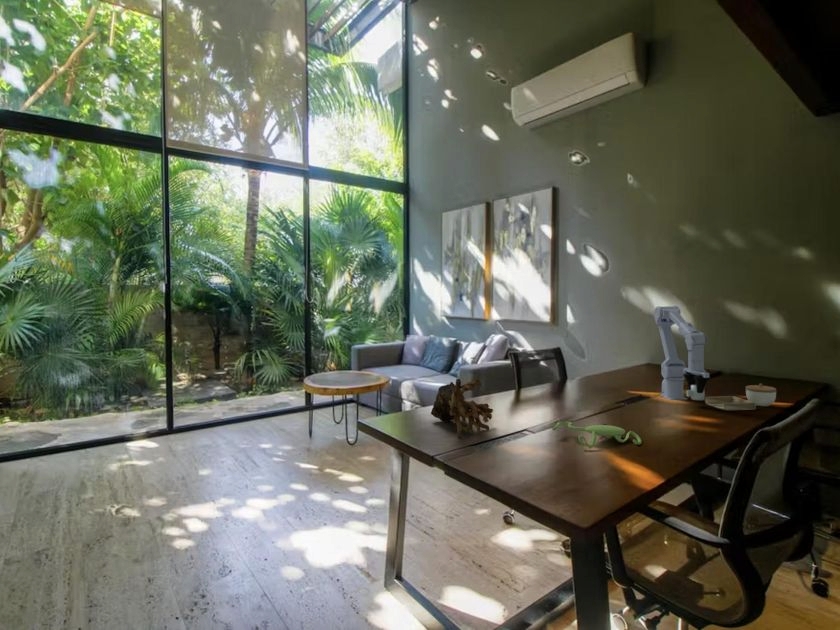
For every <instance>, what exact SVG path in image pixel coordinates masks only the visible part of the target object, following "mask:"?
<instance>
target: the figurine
mask: <svg viewBox="0 0 840 630" xmlns="http://www.w3.org/2000/svg"><path fill="white" fill-rule="evenodd" d="M560 426H567V428H568V429H569V430H573V431H579V432H586V433H589V434H591V436H592V437H591V438H592V440H591V443H590V444H589V443H588V441H587V440H586V437H585V436H584V435H583V434H580V435H577V438H578V441H579V442H580V444H581V447H582V448H583V451H585V448H584V445H583V442H582V439H583V441H584V442H585V446H586V447H588V449H593V448H594V447H595V446H596V441H597V439H598V440H600V441H602V440H603V439H604V438H605V437H609V439H610V440H611V439H612V438H613V437H614V439H615V440H616V441H618V442H620V443H625V442H626V441H627V440H628V439H629V437H630V435H632V436H633V437H634V438H635V439H634V438H633V439H632V443H634V444H635V445H639V446H640V445H641V444H642V442H643V441H642V439H641V437H640V436H639V435H638V434H637V433H635V432H634V431H631V430H629V432H627V433H626V430H625V429H624V428H622V427H618V426H616V425H615V426H614V425H608V424H607V423H603V424H598V425H597V424H594V425H589V426H586V427H583V426H582V427H581V426H574V424H573V422H571V421H558V422H557V423H556V424H555V425H554V426H553V427H551V428H552V431H556V430H558V428H559V427H560ZM625 434H626V436H625V437H624V439H622V435H625ZM597 436H599V437H598V438H597Z"/></svg>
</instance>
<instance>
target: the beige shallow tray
mask: <svg viewBox="0 0 840 630" xmlns="http://www.w3.org/2000/svg"><path fill="white" fill-rule="evenodd" d="M704 404H706V405H709V406H711V407H713V408H714V407H715V408H716V409H720V410H724V411H748V410H749V411H752V410H754V411H755V410H757V405H756V403H754V402H751V401H749V400H748V399H744V398H741V397H737V396H734V395H726V396H725V395H724V396H723V395H721V396H720V395H719V396H705V400H704Z"/></svg>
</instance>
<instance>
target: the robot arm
mask: <svg viewBox="0 0 840 630" xmlns="http://www.w3.org/2000/svg"><path fill="white" fill-rule="evenodd" d="M653 318H654V321H655V325H657V326H658V330H659V334H660V335H659V336H660V340H661V344H662V348H663V354H664V357H665V360H664V361H663V362H662V363H661V364H660V366H661V367H660V368H661V369H660V373H661V376H662V377H663V380H662V382H661V394H659V397H662V398H664V399H668V400H670V401H678V400H679V401H680V400H681V401H682V400H685V401H686V400H688V398H687V397H685V396H684V381H686V383H687V387H688V390H691V384H696V387H697V393H703V391H704V392H705V387H706V385H707V383H708V382H709V380H710V373H709V372H708V371H707V370H705V365H704V363H705V361H704V359H705V358H704V357H705V355H704V354H705V352H704V351H705V350H704V349H705V348H704V347H705V346H706V345H707V343H708V336H707V335H706V333H705V332H701V331H698V330H697V328H696V327H694V325H693V324H692V322H688V321H687V322H686V320H685V318H684V317H683V316H682V315H681V309H680V308H679V306H677V305H673V306H671V305H670V306H669V305H668V306H656V307H655V308H654V311H653ZM674 325H676V326H677V327H678V332H679V333H680V334H681V335H682V337H684V343H685V344H686V349H687V351H688V352H687V353H688V354H687V355H688V357H687V360H688V362H687V363H688V364H687V365H688V366H686V364H685V361H684V360H682V359H680V358H679V355H678V352H677V348H676V345H675V339H674V336H673V332H672V326H674Z"/></svg>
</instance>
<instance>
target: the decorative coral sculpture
mask: <svg viewBox="0 0 840 630" xmlns="http://www.w3.org/2000/svg"><path fill="white" fill-rule="evenodd" d="M477 386H478V387H482V382H480V379H479V378H475V379H473V380H471V381H469V382H466V383H464V384H463V385H462V382H461V379H460V378H456V379H455V384H454V382H453V381H450V382H449V383H448V384H445V385H441V386H440V387H438V389H437V394H436V396H435V401H434V402H433V405H432V408H431V412H430V415H432V416H433V417H434V418H436V419H439V420H440V421H442V422H444V421H448V422H451V421H452V423H453V424H456V428H457V429H456V430H457V431H456V436H457V438H461V437H462V431H464V432H465V433H468V431H469V433H470V434H471V433H472V434H473V433H474V432H475V431H474V429H473V426H474V427H475V428H476V430H477V435H480V433H481V429H485V430H487V429H489V430H490V426H489V425H488V424H485V423H488V422H489V421H491V420H492V418H493V413H494V412H493V411H494V409H493V408H490V405H489V404H488V403H477V402H476V401H474V400H471V401H468V400H465V396H464V393H465V392H467V391H468V392H469V391H476V390H477ZM480 416H481V417H482V420H483V422H484V423H483V422H482V421H481V419H480ZM466 419H468V423H467V426H463V424H465V423H466V421H467V420H466ZM450 420H451V421H450ZM461 421H462V422H461ZM444 423H445V422H444Z"/></svg>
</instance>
